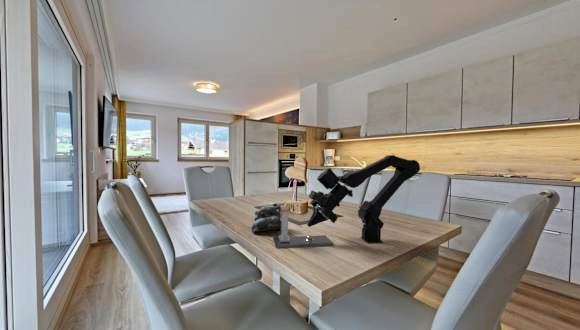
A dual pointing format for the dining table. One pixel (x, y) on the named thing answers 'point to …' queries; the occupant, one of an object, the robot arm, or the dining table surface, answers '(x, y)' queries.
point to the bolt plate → (303, 241)
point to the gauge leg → (284, 226)
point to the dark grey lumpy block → (267, 218)
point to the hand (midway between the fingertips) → (308, 225)
